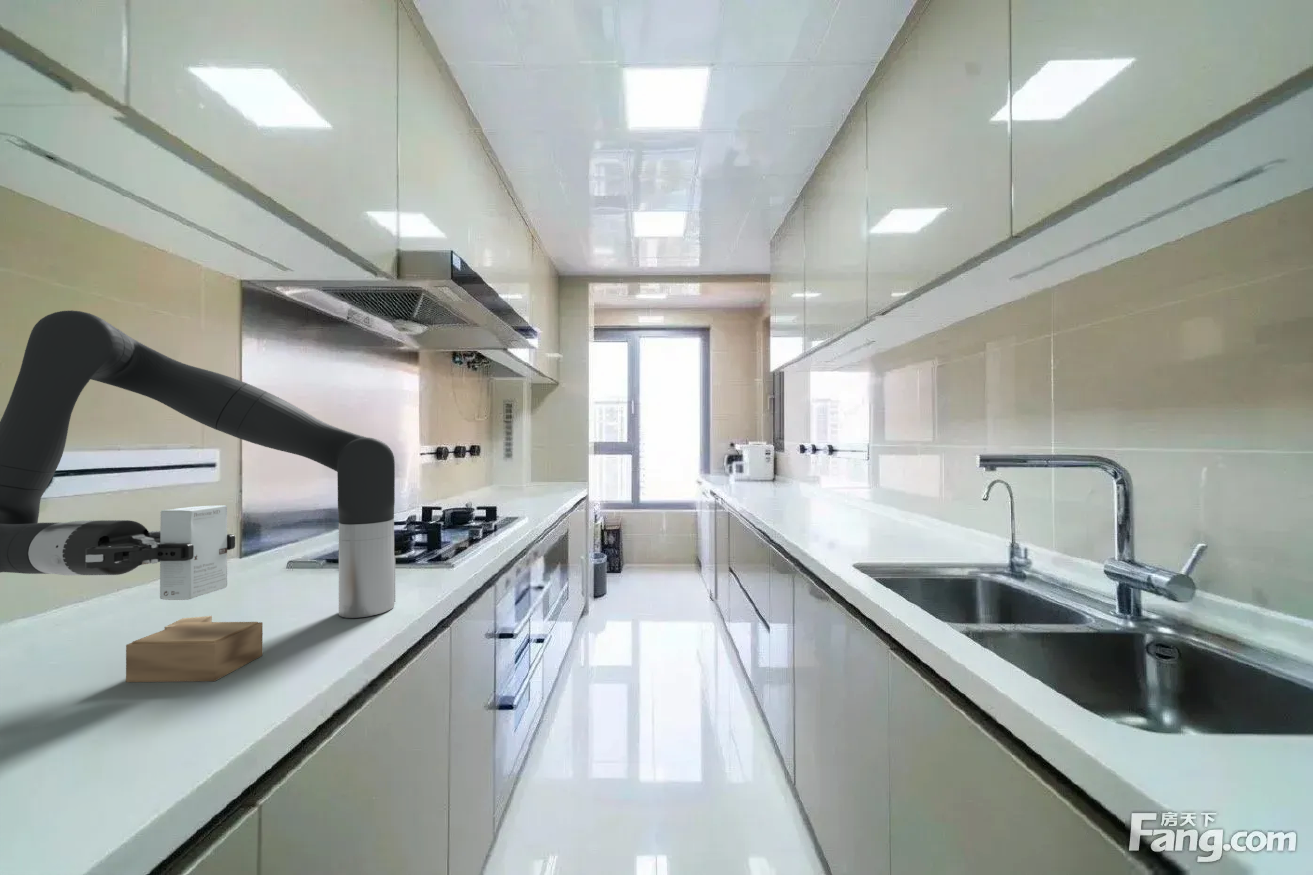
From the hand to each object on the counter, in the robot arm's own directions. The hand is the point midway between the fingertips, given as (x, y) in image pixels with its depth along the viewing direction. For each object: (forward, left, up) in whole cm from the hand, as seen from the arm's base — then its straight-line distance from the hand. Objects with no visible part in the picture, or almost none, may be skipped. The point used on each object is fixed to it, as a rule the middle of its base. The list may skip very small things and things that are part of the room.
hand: (212, 546), depth 69 cm
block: (-9, -12, -18) cm, 24 cm away
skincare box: (0, -3, -7) cm, 7 cm away
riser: (-1, -3, -18) cm, 18 cm away
